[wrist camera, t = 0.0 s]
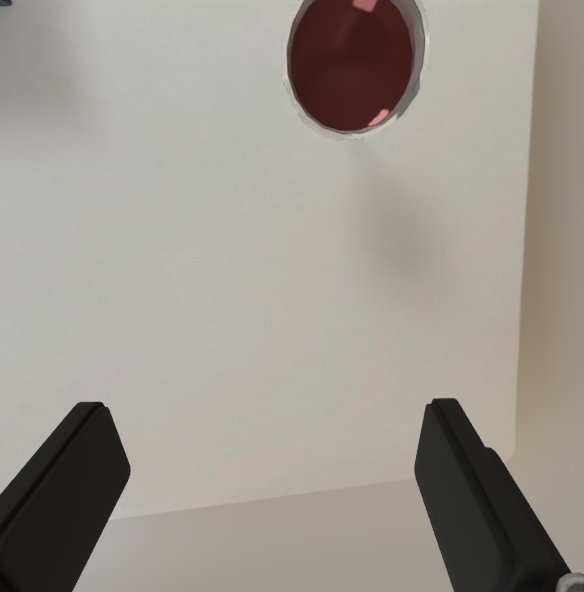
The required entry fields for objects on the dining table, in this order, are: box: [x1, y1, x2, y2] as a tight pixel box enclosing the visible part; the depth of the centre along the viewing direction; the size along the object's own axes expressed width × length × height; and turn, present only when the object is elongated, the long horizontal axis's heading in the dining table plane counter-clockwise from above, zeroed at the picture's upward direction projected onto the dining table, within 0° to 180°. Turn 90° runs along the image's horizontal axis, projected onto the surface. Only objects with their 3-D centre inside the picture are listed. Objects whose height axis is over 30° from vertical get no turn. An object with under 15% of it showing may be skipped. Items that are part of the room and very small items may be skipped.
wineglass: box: [282, 0, 430, 140], centre depth 20 cm, size 7×7×12 cm
